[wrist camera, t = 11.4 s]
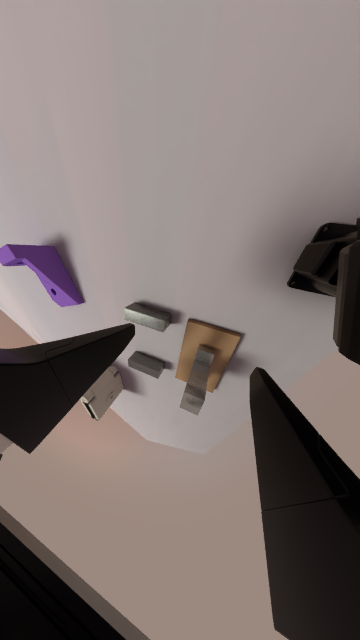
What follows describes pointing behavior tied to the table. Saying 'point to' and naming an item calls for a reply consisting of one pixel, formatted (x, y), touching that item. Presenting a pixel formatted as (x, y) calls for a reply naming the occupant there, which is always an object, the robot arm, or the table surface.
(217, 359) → the walnut pad
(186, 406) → the grey flared bar
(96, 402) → the hinge
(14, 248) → the bracket
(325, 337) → the table surface
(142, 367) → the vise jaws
